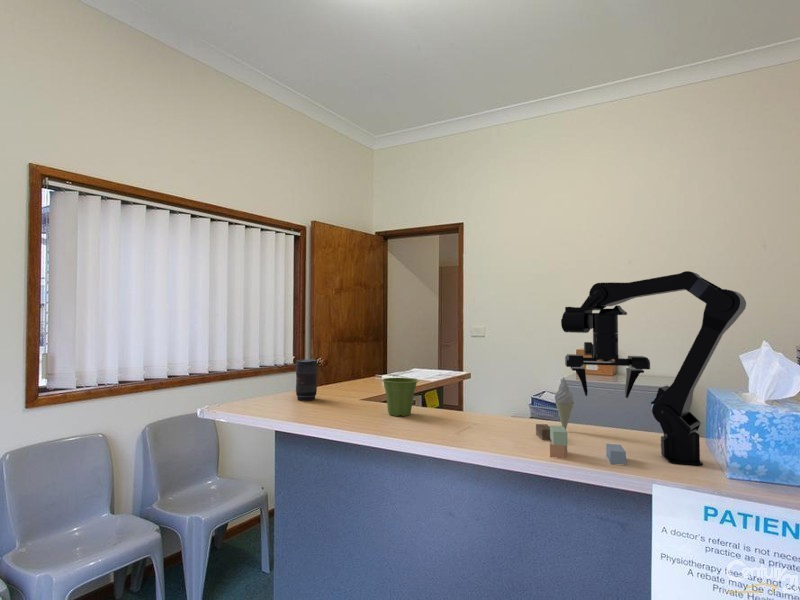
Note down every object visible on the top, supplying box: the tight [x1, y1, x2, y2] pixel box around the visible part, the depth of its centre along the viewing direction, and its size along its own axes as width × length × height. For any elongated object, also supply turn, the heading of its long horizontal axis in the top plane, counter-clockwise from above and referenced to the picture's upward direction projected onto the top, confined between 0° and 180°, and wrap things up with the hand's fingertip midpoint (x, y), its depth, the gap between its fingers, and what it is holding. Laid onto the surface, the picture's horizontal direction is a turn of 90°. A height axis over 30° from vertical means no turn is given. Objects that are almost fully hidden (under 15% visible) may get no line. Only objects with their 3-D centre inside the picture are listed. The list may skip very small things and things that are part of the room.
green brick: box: [549, 425, 569, 447], centre depth 106 cm, size 3×6×3 cm, turn 169°
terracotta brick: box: [549, 441, 568, 459], centre depth 106 cm, size 3×6×3 cm, turn 153°
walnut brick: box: [535, 423, 552, 442], centre depth 121 cm, size 3×6×3 cm, turn 178°
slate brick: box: [605, 443, 627, 466], centre depth 101 cm, size 3×6×3 cm, turn 164°
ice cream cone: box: [554, 376, 574, 430], centre depth 128 cm, size 5×5×15 cm
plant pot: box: [381, 377, 419, 417], centre depth 149 cm, size 12×12×11 cm
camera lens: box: [295, 358, 318, 401], centre depth 176 cm, size 8×8×15 cm
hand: (606, 396), depth 113 cm, fingers open, 9 cm apart
